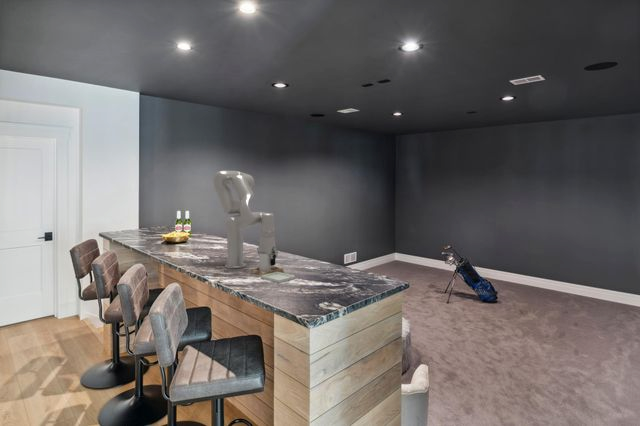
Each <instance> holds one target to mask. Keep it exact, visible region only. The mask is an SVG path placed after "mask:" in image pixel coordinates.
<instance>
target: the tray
mask: <svg viewBox="0 0 640 426" xmlns="http://www.w3.org/2000/svg"><path fill="white" fill-rule="evenodd" d="M260 278H261V280H265V281H269V282H273V283H276V284H282V283H285V282H288V281H292V280H295V279H296V276H295V275H293V274H288V273H284V272H274V273H270V274H266V275H262V276H260Z"/></svg>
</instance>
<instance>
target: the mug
mask: <svg viewBox="0 0 640 426" xmlns="http://www.w3.org/2000/svg"><path fill="white" fill-rule="evenodd" d="M272 256H273V255H272ZM258 257H259V258H258V260H259V261H258V263H259V265H258V268H259V270H260V271H262V272H268V271H272V270H271V267H274V266H275V265H273V266H271V256H270V255H267V254H261V253H260V252H259V253H258Z"/></svg>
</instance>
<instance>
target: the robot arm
mask: <svg viewBox="0 0 640 426" xmlns="http://www.w3.org/2000/svg"><path fill="white" fill-rule="evenodd" d="M212 182H213V187H214V189H215V191H216V194H217V195H218V198H219V201H220V205H221V207H222V211H223V212H224V214H226V215H230V216H228V217H227V218H226V219H225V230H226V239H227V245H226V247H227V250H226V251H227V258H225V259H224V261H225V262H226V263H225V265H224V267H225V268H227V269H241V268H245V267H246V266H247V264H246V263H245V262H244V236H243V234H242V232H241V231H246V230H248V229H250V228H251V227H252V226H259V225H260V236H259V240H258V247H257V253H258V254H259V252H260V253H261V254H267V255H270V256H271V266H273V265H274V266H276V258H277V257H278V255H279V251H278V250H277V248H276V247H277V246H276V238H275V215H274V213H272V212H264V211H255V212H254V211H251V209H250V207H249V202H250V201H252V200H253V199H254V197H255V195H254V194H255V193H254V191H253V190H252V188H253V187H254V185H255V179H254V177H253V176H252V175H251V174H249V173H245V172H242V171H238V170H218V171H217V172H215V173H214V175H213V180H212ZM228 185H233V187H234V190H235V192H236V194H237V196H238V197H239V198H235V196H234V193H233V191H232V189H231V188H230V187H229V186H228ZM272 255H273V256H272Z"/></svg>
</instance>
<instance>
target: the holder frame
mask: <svg viewBox="0 0 640 426" xmlns="http://www.w3.org/2000/svg"><path fill="white" fill-rule="evenodd" d="M250 271H251V274H252V275H257V276H260V277H261V276H262V275H266V274H270V273H274V272H281V273H284V268H283V267H280V266H276V265H274V267H271V271H268V272H262V271H260V270H259V267H256V268H252V269H251V270H250Z"/></svg>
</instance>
